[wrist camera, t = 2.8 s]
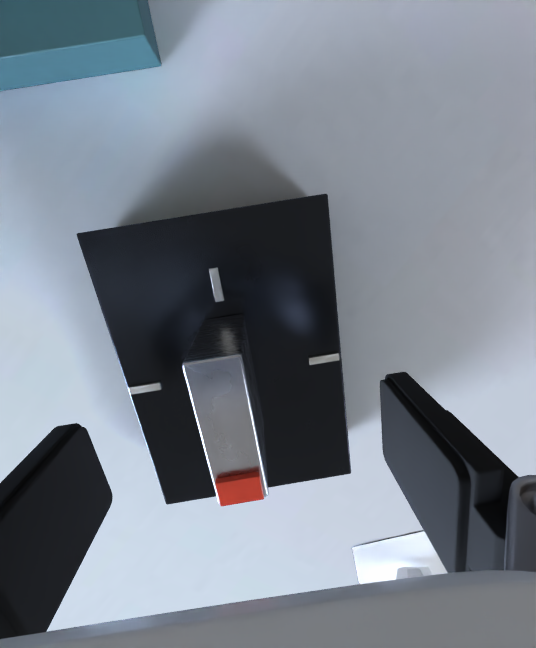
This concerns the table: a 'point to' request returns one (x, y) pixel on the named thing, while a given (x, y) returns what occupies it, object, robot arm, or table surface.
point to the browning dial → (228, 409)
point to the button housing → (73, 40)
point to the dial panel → (220, 301)
